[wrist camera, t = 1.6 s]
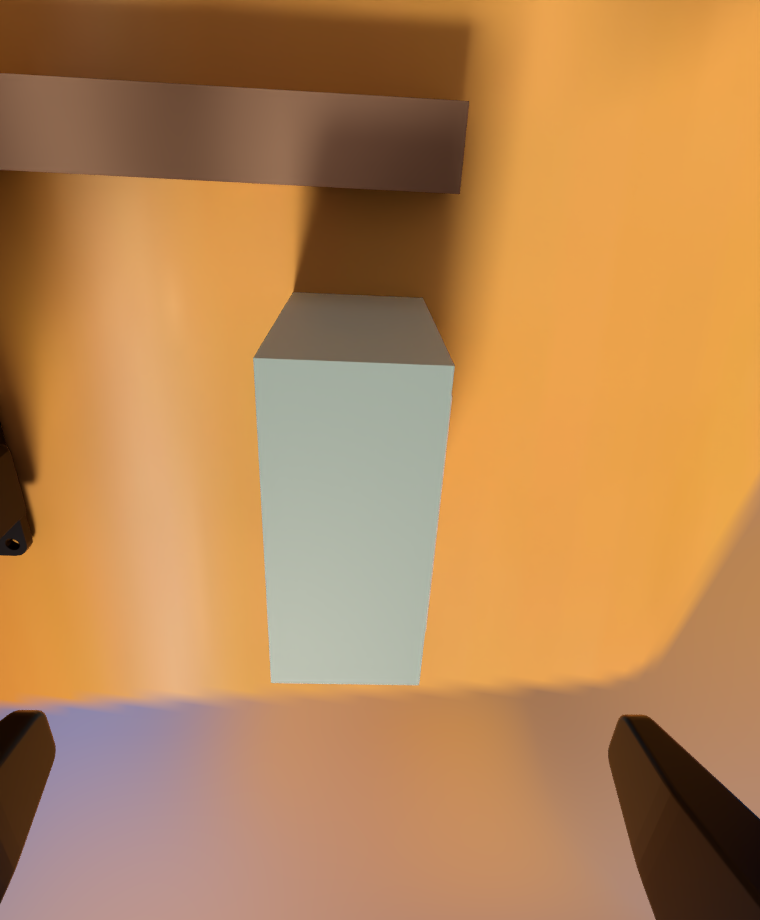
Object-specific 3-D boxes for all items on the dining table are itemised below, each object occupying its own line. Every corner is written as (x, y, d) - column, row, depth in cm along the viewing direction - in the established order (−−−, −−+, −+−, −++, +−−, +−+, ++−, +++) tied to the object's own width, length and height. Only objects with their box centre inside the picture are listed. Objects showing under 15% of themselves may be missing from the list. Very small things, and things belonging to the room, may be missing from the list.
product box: (298, 534, 21) (271, 683, 15) (293, 291, 17) (253, 358, 11) (408, 537, 22) (426, 685, 15) (428, 297, 18) (464, 366, 11)
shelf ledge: (-95, 163, 15) (-155, 161, 14) (-121, 75, 15) (-189, 62, 13) (448, 191, 16) (459, 194, 14) (456, 109, 15) (469, 101, 13)
